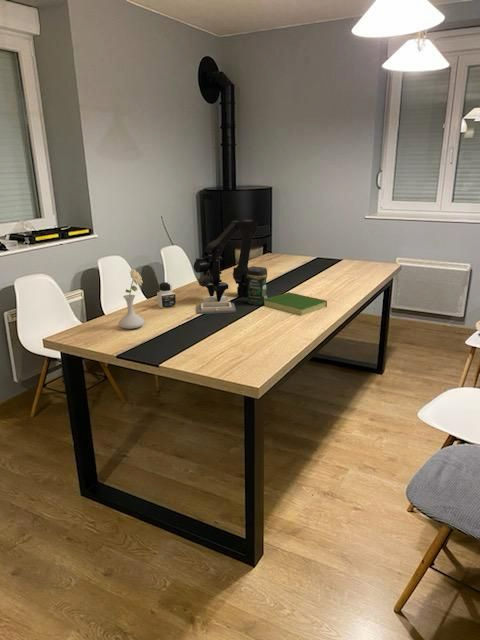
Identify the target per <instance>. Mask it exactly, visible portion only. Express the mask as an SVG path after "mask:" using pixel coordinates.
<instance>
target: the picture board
mask: <svg viewBox="0 0 480 640" xmlns="http://www.w3.org/2000/svg"><path fill="white" fill-rule="evenodd" d="M196 306H197V315H204V314H205V315H206V314H208V315H209V314H227V313H237V311H236V310H237V309H236V306H235V303H234V302H231V301H227V302H211V303H203V302H200V304H197V305H196Z"/></svg>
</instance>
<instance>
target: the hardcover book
mask: <svg viewBox="0 0 480 640" xmlns="http://www.w3.org/2000/svg"><path fill="white" fill-rule="evenodd" d="M263 306H264V307H268V308H271V309H274V310H275V309H276V310H279V311H283V312H287V313H290V314H294V315H299V316H304V315H307V314H310V313H313V312H316V311H320V310H322V309H324V308H328V301H327V300H325V299H322V298H321V299H320V298H317V297H313V296H312V297H311V296H308V295H303V294H297V293H293V292H288V291H287V292H284V293H282V294H278V295H274V296H270V297H267V299H264V305H263Z"/></svg>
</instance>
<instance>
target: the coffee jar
mask: <svg viewBox="0 0 480 640" xmlns="http://www.w3.org/2000/svg"><path fill="white" fill-rule="evenodd" d="M247 276H248V280H249V288H248V297H247V303H248V304H250V305H254V306H264V299H267V298H268V293H267V292H268V291H267V280H268V279H267V278H268V269H267V267H262V266H256V265H255V266H253V265H252V266H248V273H247Z"/></svg>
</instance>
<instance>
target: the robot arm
mask: <svg viewBox="0 0 480 640" xmlns="http://www.w3.org/2000/svg"><path fill="white" fill-rule="evenodd" d="M239 230H240V234H241V237H242V238H241V245H240V251H239V258H238V264H237V266H236V267H234V266H233V270H232V271H233V272H232V277H233V279H234V282H235V284H236V285H237V287H236V291H237V292H236V294H237V296H238V298H246V297H247V298H248V288H249V280H248V276H247V273H248V268H249V266H248V265H249V259H250V253H251V247H252V240H253V237H254V236H255V235H256V233H257V230H258V223H257V222H256V221H255V220H252V219H244V220H243V221H239V220H233V221H231V222H230V224H229V225H228V226H227V227H226V229H225V230H223V232H222V233H221V234H220V235H219V236H218V237H217V238H216V239H215V240H212V241H211V242H210V243H208V244H207V245H206V246H205V250H204V251H203V254H202V255H201V258H198V257H197V258H195V261H194V263H193V270H194V272H195V273H197V274H200V273H203V272H205V273H206V275H203V276H201V277H199V278H198V279H197V282H198V285H199V286H200V287H201V288H203V287H205V288H207V292H208V293H209V297H211V296H217V302H220V300H221V297H222V295H223V296H224V293H225V292H226V290H229V284H228V283H226V282H224V281H222V279H221V274H222V271H221V266H220V262H221V261H223V260H224V258H223V257H222V256H221V254H222V253H223V251H224V249H225V248H224V247H225V246H226V244H227V243H228V242H229V241H230V240H231V239H232V238H233V236H234V235H235V234H236V233H238V231H239Z"/></svg>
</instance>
